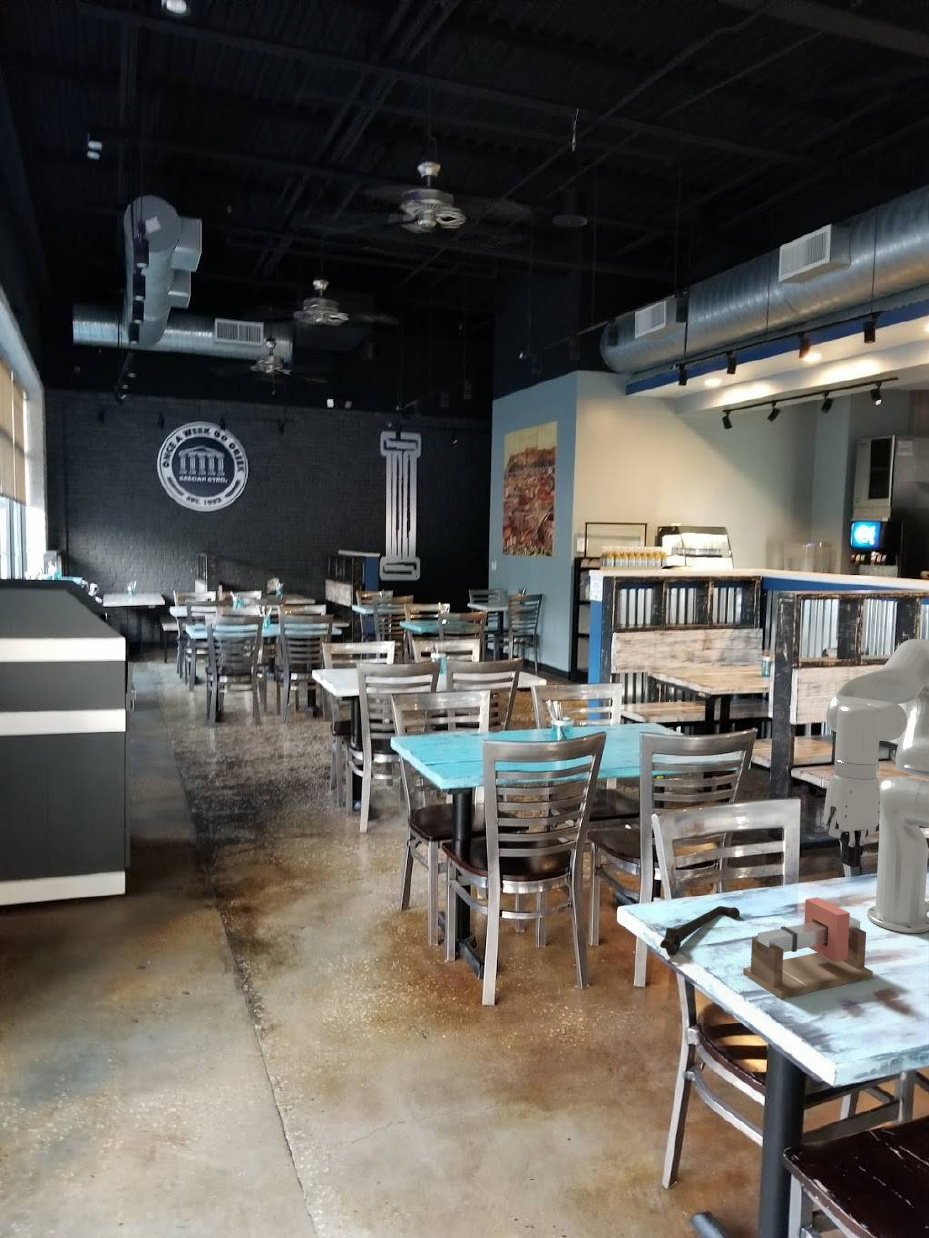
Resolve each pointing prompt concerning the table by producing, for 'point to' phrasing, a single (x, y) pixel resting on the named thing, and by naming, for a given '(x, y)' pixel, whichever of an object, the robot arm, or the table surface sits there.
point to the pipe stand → (806, 968)
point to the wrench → (693, 928)
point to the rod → (800, 936)
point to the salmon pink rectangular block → (829, 927)
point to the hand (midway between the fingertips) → (850, 864)
